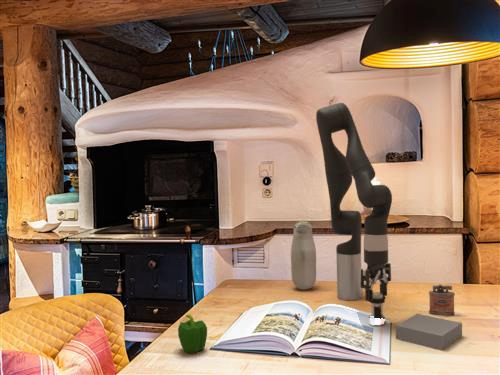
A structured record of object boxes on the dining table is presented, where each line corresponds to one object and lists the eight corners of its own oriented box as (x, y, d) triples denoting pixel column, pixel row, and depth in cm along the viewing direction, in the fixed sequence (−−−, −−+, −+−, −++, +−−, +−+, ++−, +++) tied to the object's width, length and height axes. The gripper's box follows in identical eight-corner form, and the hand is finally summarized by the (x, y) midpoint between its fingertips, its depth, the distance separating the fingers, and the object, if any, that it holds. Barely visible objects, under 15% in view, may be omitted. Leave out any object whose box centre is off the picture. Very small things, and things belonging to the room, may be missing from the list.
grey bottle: (289, 286, 212) (287, 220, 210) (313, 285, 213) (312, 218, 211) (294, 292, 202) (292, 223, 200) (319, 291, 203) (317, 222, 201)
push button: (385, 320, 166) (384, 290, 165) (392, 326, 160) (392, 295, 160) (365, 322, 164) (365, 292, 164) (372, 328, 159) (372, 296, 158)
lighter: (429, 314, 170) (428, 285, 170) (429, 311, 173) (428, 282, 173) (454, 316, 168) (454, 286, 167) (454, 313, 171) (454, 284, 170)
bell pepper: (210, 353, 143) (209, 318, 142) (181, 357, 141) (180, 322, 140) (204, 342, 151) (203, 310, 150) (177, 346, 149) (175, 313, 148)
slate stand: (417, 326, 160) (417, 313, 159) (462, 336, 150) (462, 322, 150) (395, 338, 150) (395, 325, 149) (442, 350, 140) (442, 336, 140)
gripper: (377, 243, 168) (377, 292, 169) (353, 249, 158) (353, 300, 159) (398, 246, 163) (398, 295, 164) (374, 252, 153) (374, 305, 154)
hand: (376, 298), depth 161 cm, fingers open, 8 cm apart
